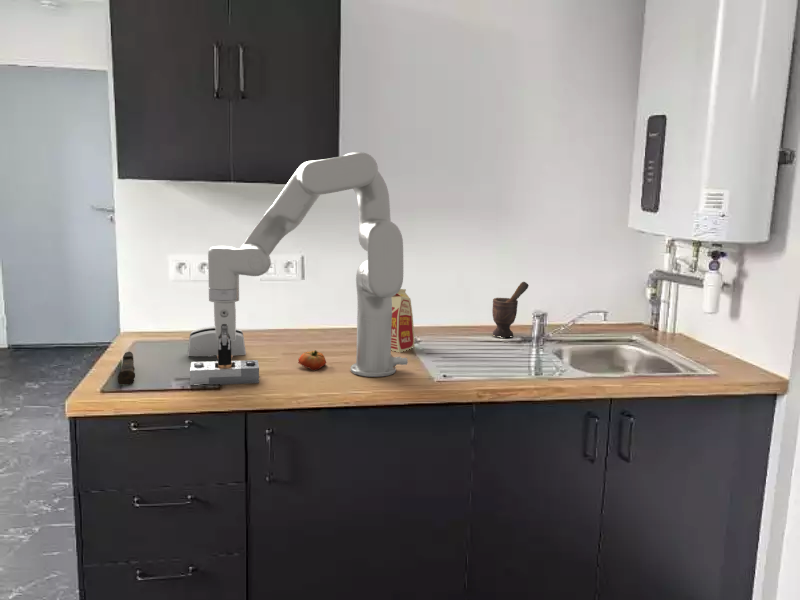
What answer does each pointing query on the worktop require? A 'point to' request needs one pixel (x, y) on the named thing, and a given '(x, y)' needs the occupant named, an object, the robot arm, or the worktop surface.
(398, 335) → the milk carton
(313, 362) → the tomato
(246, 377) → the grey latch plate
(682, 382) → the worktop surface
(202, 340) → the grey toaster
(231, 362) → the pin
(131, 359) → the dark brown rounded rod
